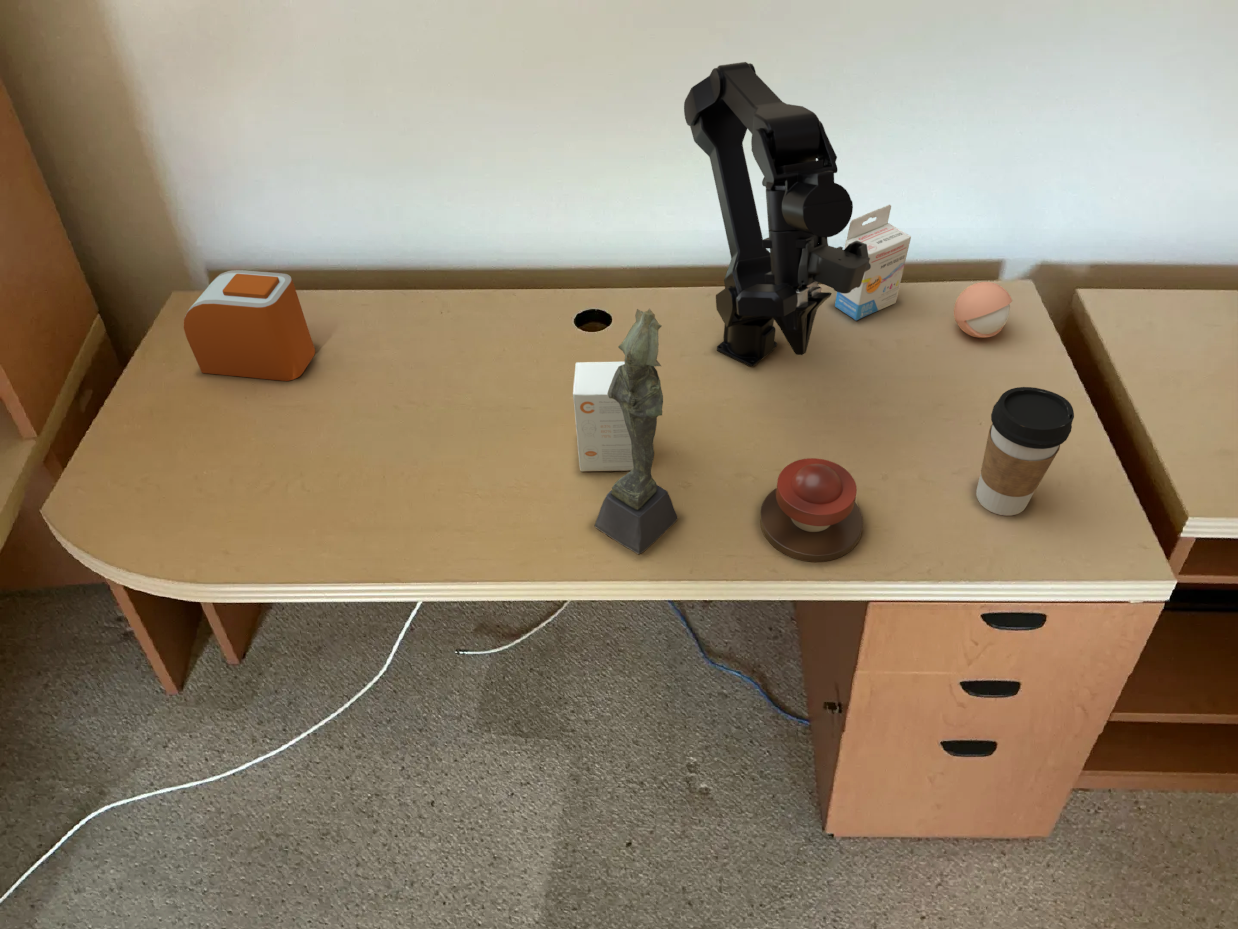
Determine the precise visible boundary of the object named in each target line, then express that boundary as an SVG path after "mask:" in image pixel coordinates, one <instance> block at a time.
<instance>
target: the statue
mask: <svg viewBox="0 0 1238 929" xmlns="http://www.w3.org/2000/svg"><path fill="white" fill-rule="evenodd" d="M634 317H635V322H634V323H633V325H632V326H631V327H630V329H629V331H628V333H627V334H626V336H625V338H624V339H623V341H622V342H621V343H620V344H619V345H618V346H617V348H618V349H620V351H621V352H622V353H623V354H624V361H625V364H624V365H621V366H619V367H618V368H617V370H616V372H615V374H614V377H613V379H612V382H611V384H610V387H609V390H608V393H607V394H608V396H609V398H612V399H614V400H616V401H617V402H618V403H619V404H620V407H621V409H622V412H623V416H624V420H625V424H626V427H627V430H628V433H629V436H630V439H631V445H632V459H633V469H632V470H629V472H627V473H625V475H623V476H621V477H620V478H619V479H618V480H616V482H615V483H614V484H613V485H612V487H611V490H610V491H609V492H608V493H607V494H606V495H605V497H604V499H603V501H602V503H601V506H600V509H599V512H598V515H597V518H596V520H595V523H594V527H595V528H596V529H597V530H599V531H600V532H602V534H605V535H606V536H608V537H609V538H611V539H612V540H614V541H616V542H618V543H619V544H620V545H622V546H623V547H625V548H627V549H628V550H631V551H632V552H634V553H635V554H637V555H641V554H642V553H644V552H645V551H646V550H647V549H649V548H650V547H651V546H652V544H654V543H655V542H656V541H657V540H658V539H660V537H661V536H663V535H664V533H665V532H667V531H668V530H669V529H670V528H671V527H672V526H673V525H674V524H675V523H676V521H677V520H678V518H679V517H678V515H677V511H676V509H675V507H674V504H673V501H672V499H671V497H670V494H669V491H668V490H666V489H664V487H662V486H660V485H658V484H657V481H656V479H654V478H653V476H652V466H653V462H654V458H655V449H654V439H655V435H656V431H657V423H658V417H660V416H663V405H664V393H663V390H662V385H661V378H660V376H659V373H658V370H657V368H656V367H662V364H661V363H660V362H659V361H658V355H659V330H660V328H662V325H661V324H660V323H659V322H658V319H656V314H655V313H654V312H653V311H652V309H650V308H648V309H647V310H646V311H643V310H641V309H638V308H637V309H636V311H635V316H634Z"/></svg>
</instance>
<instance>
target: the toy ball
mask: <svg viewBox="0 0 1238 929" xmlns="http://www.w3.org/2000/svg"><path fill="white" fill-rule="evenodd" d="M1012 302H1013V299H1012V297H1011V295H1010V293H1009V291H1007V289H1005V288H1004V287H1003V286H1001V285H1000V284H998V283H995V282H992V281H991V282H990V281H982V282H981V281H980V282H975V283H974V284H971V285H969V286H967V287H966V288H964V289H963V290H962V291H961V292H960V293H959V295H958V297H957V298H956V300H955V303H954V305H953V306H954V307H953V317H954V321H955V322H956V324H957V326H958V327H959V328H960V330H961V331H962V332H964V333H965V334H966V335H969V336H971V337H974V338H979V339H983V338H990V337H995V336H996V335H997V334H999V333H1000V332H1001V331H1002V330H1003V328H1004V326H1005V325H1006V324H1007V322H1008V320H1009V317H1010V313H1011V303H1012Z"/></svg>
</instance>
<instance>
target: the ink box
mask: <svg viewBox="0 0 1238 929" xmlns="http://www.w3.org/2000/svg"><path fill="white" fill-rule="evenodd" d="M891 210H892V205H891V204H887V205H885V206H883V207H880V208H877V209H874V210H872V211H870V212H867V213H865V214H862V215H860V216H858V217H855V218H853V219H851V220H850V221H849V226H848V231H847V236H846V239H845V243H844V249H845V248H846V247H847V246H848V245H849V244H850V243H852V242H854V241H859V242H862V243H865V244H867V250H868V257H869V258H870V260H869V263H870V265H871V268H870V269H869V270H868V271H866V272H865V273H864V276H863V279H862V283H861V286H860V287H858V288H857V287H856V288H854V289H852V290H851V292H849V293H846V294H844V293H839V292H836V296H835V302H834V307H835V308H837V309H838V310H840V312H843V313H844V314H846V315H847V316H848V317H850V318H852V319H853V320H854V321H859V320H861V319H863V318H865V317H867V316H870V315H871V314H874V313H877V312H879V311H881V310H883V309H886V308H888V307H890V306H893V305H894V304H896V303H897V300H898V295H899V291H900V287H901V282H902V277H903V274H904V269H905V264H906V261H907V256H908V251H909V248H910V243H911V239H912V236H911V235H909V234H908V233H906V232H904V231H903V230H901V229H899V228H898V227H896V226H894V225H893V224H892V223H890V222H889V219H890V215H891ZM870 218H871V219H874V218H875V220H873V221H870V222H867V221H868V220H869V219H870ZM866 222H867V223H866ZM863 223H865V224H863Z"/></svg>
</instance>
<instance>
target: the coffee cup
mask: <svg viewBox="0 0 1238 929" xmlns="http://www.w3.org/2000/svg"><path fill="white" fill-rule="evenodd" d="M1074 418H1075V411H1074V408H1073V406H1072V404H1071V402H1070V401H1069V400H1068V399H1066V398H1065V396H1062V395H1060V394H1058V393H1055V392H1053V391H1051V390H1047V389H1044V388H1038V387H1034V386H1033V387H1032V386H1018V387H1014V388H1010V389H1008V390H1006V391H1005V392H1003V393H1002V394H1001V395H1000V397H999V398H998V400H997V401H996V402H995V404H994V405H993V407H992V411H991V413H990V420H991V425H990V427H989V430H988V434H987V439H986V443H985V450H984V454H983V459H982V464H981V468H980V474H979V478H978V483H977V487H976V491H975V495H976V499H977V501H978V502H979V504H980V505H981V506H982V507H983V508H984V509H985V510H987V511H988V512H991V513H992V514H995V515H999V516H1006V517H1009V516H1015V515H1018V514H1021V513H1022V512H1023V511H1025V509H1026V508H1027V506H1028V504H1029V503H1030V501H1031V499H1032V497H1033V495H1034V494H1035V492H1036V490H1037V489H1038V486H1039V485H1040V483H1041V481H1042V480H1043V478H1044V476H1045V475H1046V473H1047V472H1048V470H1049V468H1050V466H1051V465H1052V463H1053V462H1054V459H1055V458H1056V456H1057V455H1058V453H1059V451H1060V448H1061V445H1062V444H1064V442H1066V441H1067V440H1068V438H1069V436H1070V434H1071V433H1072V429H1073V425H1072V424H1073V421H1074Z"/></svg>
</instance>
